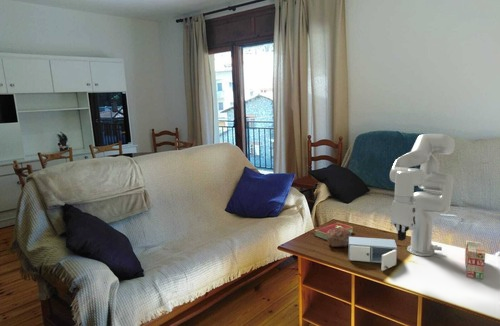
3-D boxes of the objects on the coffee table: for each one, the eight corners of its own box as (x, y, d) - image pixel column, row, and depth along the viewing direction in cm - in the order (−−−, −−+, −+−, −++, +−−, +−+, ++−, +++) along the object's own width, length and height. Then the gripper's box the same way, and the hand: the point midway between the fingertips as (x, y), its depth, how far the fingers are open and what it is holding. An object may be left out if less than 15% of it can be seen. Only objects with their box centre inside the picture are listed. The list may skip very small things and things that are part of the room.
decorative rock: (351, 242, 194) (352, 225, 192) (350, 250, 183) (350, 232, 182) (328, 240, 198) (328, 223, 196) (325, 248, 188) (325, 230, 186)
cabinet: (393, 255, 176) (394, 239, 175) (397, 266, 165) (397, 249, 163) (348, 252, 182) (348, 236, 180) (348, 261, 170) (349, 245, 169)
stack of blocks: (464, 258, 171) (466, 234, 169) (479, 260, 168) (481, 236, 166) (466, 277, 153) (468, 250, 151) (483, 280, 150) (485, 253, 148)
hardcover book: (314, 236, 206) (314, 229, 205) (337, 228, 218) (337, 221, 218) (330, 242, 196) (330, 235, 196) (353, 233, 209) (353, 226, 208)
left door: (395, 263, 166) (395, 248, 165) (399, 265, 164) (400, 249, 163) (381, 270, 160) (381, 254, 159) (385, 272, 158) (386, 255, 157)
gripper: (425, 201, 146) (422, 242, 149) (393, 194, 158) (391, 233, 161) (415, 203, 142) (413, 246, 144) (383, 197, 154) (381, 236, 156)
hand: (401, 239), depth 152 cm, fingers closed
